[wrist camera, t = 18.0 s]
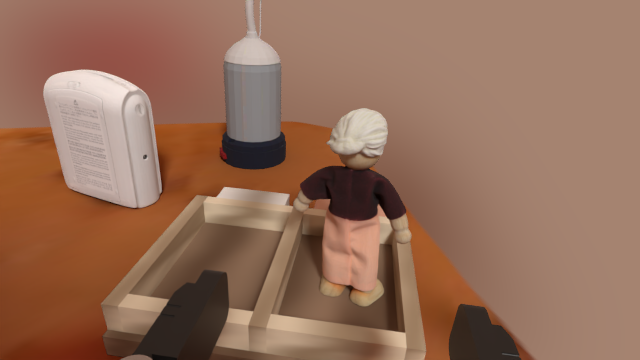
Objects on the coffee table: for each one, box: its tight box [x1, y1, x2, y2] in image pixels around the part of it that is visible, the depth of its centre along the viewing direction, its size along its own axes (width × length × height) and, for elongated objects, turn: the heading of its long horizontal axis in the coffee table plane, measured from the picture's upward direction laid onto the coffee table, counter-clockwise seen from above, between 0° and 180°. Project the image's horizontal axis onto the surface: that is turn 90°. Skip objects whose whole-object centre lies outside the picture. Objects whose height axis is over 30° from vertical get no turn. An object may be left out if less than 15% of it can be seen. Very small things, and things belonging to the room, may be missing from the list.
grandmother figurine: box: [293, 108, 411, 306], centre depth 24 cm, size 8×4×13 cm, turn 78°
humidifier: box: [220, 0, 286, 169], centre depth 45 cm, size 8×8×25 cm
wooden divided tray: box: [101, 187, 426, 360], centre depth 28 cm, size 18×16×4 cm
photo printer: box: [43, 70, 162, 208], centre depth 37 cm, size 10×4×12 cm, turn 69°
